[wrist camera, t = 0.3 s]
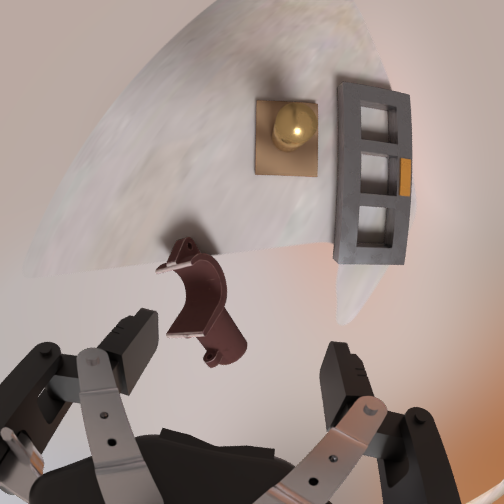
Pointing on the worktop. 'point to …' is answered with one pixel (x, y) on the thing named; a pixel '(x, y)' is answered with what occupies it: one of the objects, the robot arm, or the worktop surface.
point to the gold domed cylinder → (293, 127)
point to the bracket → (204, 304)
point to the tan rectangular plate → (274, 159)
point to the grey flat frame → (350, 175)
